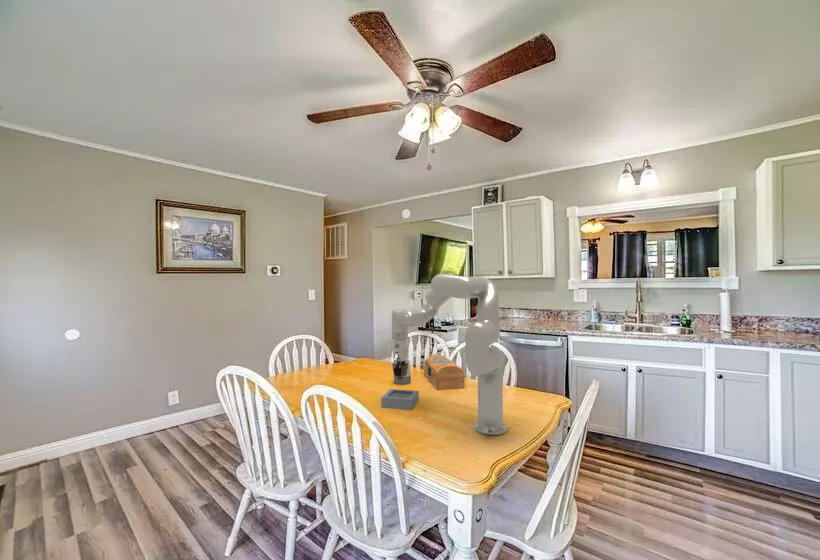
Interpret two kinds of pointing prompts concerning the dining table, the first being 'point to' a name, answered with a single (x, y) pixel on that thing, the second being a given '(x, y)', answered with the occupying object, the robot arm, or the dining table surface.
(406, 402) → the grey square tray
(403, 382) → the smart speaker
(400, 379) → the cup
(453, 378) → the wooden box
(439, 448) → the dining table surface
